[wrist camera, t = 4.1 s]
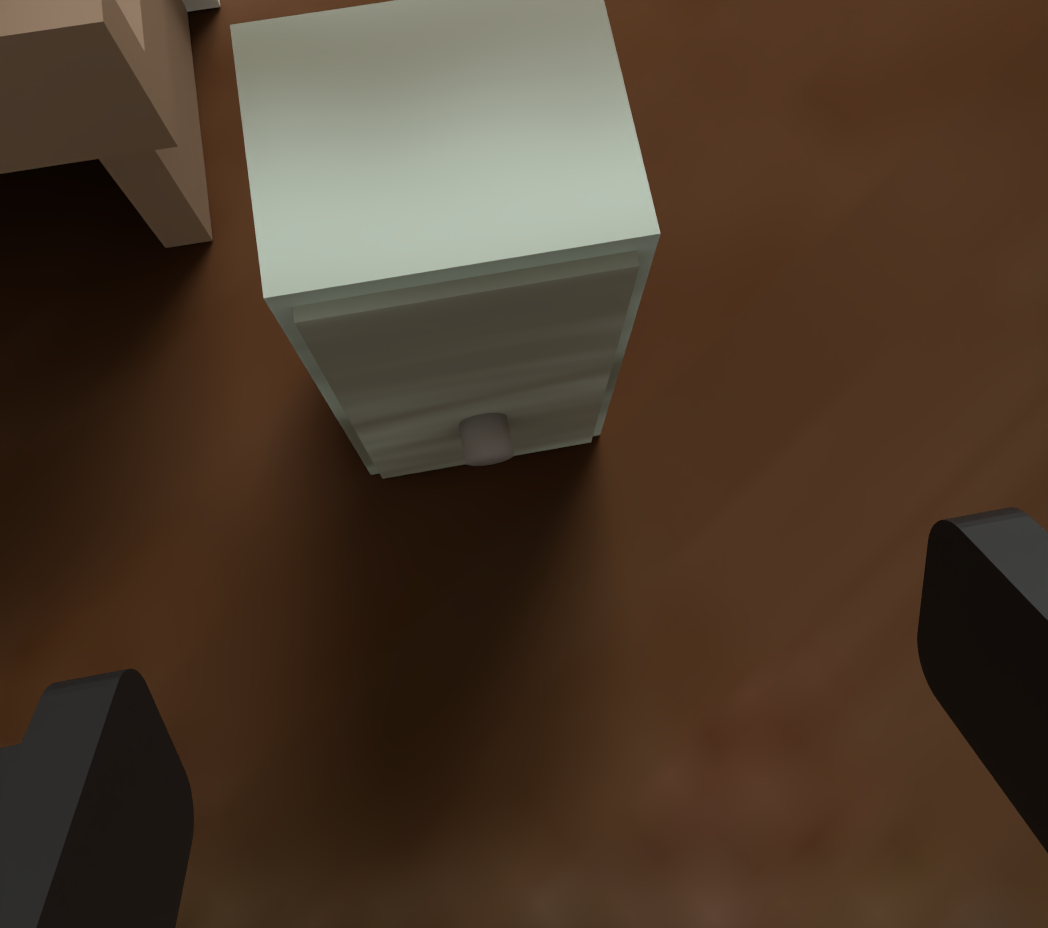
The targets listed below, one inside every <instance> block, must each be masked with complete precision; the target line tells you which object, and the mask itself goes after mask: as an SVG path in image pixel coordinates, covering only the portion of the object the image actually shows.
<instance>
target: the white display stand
mask: <svg viewBox="0 0 1048 928" xmlns="http://www.w3.org/2000/svg"><path fill="white" fill-rule="evenodd" d="M216 7H220V0H0V174H3V173H9V172H16V171H22V170H29V169H35V168H42V167H48V166H55V165H61V164H68V163H74V162H81V161H87V160H94V159H99V160H100V162H101V163H102V164H103V166H104V167H105V168H106V170H107V171H108V172H109V174H110V175H111V176H112V178H113V179H114V180H115V182H116V183H117V184H118V186H119V187H120V188H121V190H122V191H123V192H124V194H125V195H126V196H127V198H128V199H129V200H130V202H131V203H132V204H133V206H134V207H135V208H136V210H137V211H138V212H139V214H140V215H141V216H142V218H143V219H144V220H145V222H146V223H147V224H148V226H149V227H150V228H151V230H152V231H153V232H154V234H155V235H156V236H157V238H158V239H159V240H160V242H161V243H162V244H163V245H164V247H165V248H170V247H176V246H182V245H188V244H195V243H201V242H207V241H213V238H212V229H211V220H210V211H209V202H208V193H207V184H206V175H205V166H204V157H203V148H202V139H201V130H200V121H199V112H198V103H197V94H196V85H195V76H194V66H193V57H192V48H191V39H190V30H189V21H188V12H189V11H196V10H203V9H210V8H216Z"/></svg>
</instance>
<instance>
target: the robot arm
mask: <svg viewBox="0 0 1048 928" xmlns="http://www.w3.org/2000/svg"><path fill="white" fill-rule="evenodd" d="M917 644H918V653H919V658H920V663H921V666H922V670H923V672H924V675H925V678H926V680H927V683H928V685H929V687H930V689H931V691H932V692H933V694H934V696H935V697H936V699H937V700H938V701H939V703H940V704H941V706H942V707H943V708H944V710H945V711H946V713H947V714H948V715H949V717H950V718H951V719H952V721H953V722H954V724H955V725H956V726H957V728H958V729H959V731H960V732H961V733H962V735H963V736H964V738H965V739H966V740H967V742H968V743H969V744H970V746H971V747H972V749H973V750H974V751H975V753H976V754H977V756H978V757H979V758H980V760H981V761H982V763H983V764H984V765H985V767H986V768H987V769H988V771H989V772H990V774H991V775H992V776H993V778H994V779H995V781H996V782H997V783H998V785H999V786H1000V787H1001V789H1002V790H1003V792H1004V793H1005V794H1006V796H1007V797H1008V799H1009V800H1010V801H1011V803H1012V804H1013V806H1014V807H1015V808H1016V810H1017V811H1018V812H1019V814H1020V815H1021V817H1022V818H1023V819H1024V821H1025V822H1026V824H1027V825H1028V826H1029V828H1030V829H1031V830H1032V832H1033V833H1034V835H1035V836H1036V837H1037V839H1038V840H1039V842H1040V843H1041V844H1042V846H1043V847H1044V849H1045V850H1046V851H1047V853H1048V533H1047V532H1046V531H1045V530H1044V529H1043V528H1042V527H1041V526H1040V525H1039V524H1037V523H1036V522H1035V521H1034V520H1033V519H1032V518H1031V517H1030V516H1029V515H1027V514H1026V513H1025V512H1023V511H1021V510H1020V509H1017V508H1013V507H1012V508H1004V509H999V510H993V511H988V512H982V513H977V514H972V515H966V516H961V517H956V518H950V519H945V520H940V521H938V522H936V523H935V524H934V526H933V527H932V529H931V531H930V534H929V539H928V546H927V555H926V564H925V572H924V581H923V590H922V598H921V607H920V616H919V625H918V634H917ZM193 828H194V813H193V800H192V794H191V789H190V784H189V781H188V777H187V775H186V772H185V770H184V767H183V765H182V763H181V761H180V758H179V756H178V754H177V752H176V749H175V747H174V745H173V743H172V740H171V738H170V736H169V734H168V731H167V729H166V727H165V725H164V722H163V720H162V718H161V716H160V713H159V711H158V709H157V707H156V704H155V702H154V700H153V698H152V695H151V693H150V691H149V689H148V686H147V684H146V682H145V680H144V679H143V677H142V676H141V674H140V673H139V672H138V671H136V670H134V669H126V670H121V671H115V672H110V673H104V674H99V675H94V676H88V677H83V678H78V679H72V680H67V681H61V682H56V683H53V684H51V685H50V686H48V687H47V689H46V690H45V691H44V693H43V695H42V697H41V699H40V701H39V703H38V706H37V708H36V710H35V713H34V715H33V717H32V720H31V722H30V724H29V727H28V729H27V731H26V734H25V736H24V738H23V741H22V743H21V744H19V745H13V746H8V747H3V748H0V928H175V926H176V920H177V915H178V910H179V905H180V900H181V895H182V890H183V885H184V880H185V875H186V869H187V864H188V859H189V854H190V849H191V844H192V838H193Z"/></svg>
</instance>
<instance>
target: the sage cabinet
mask: <svg viewBox="0 0 1048 928" xmlns="http://www.w3.org/2000/svg"><path fill="white" fill-rule="evenodd" d="M230 29H231V37H232V45H233V53H234V61H235V69H236V77H237V86H238V94H239V102H240V110H241V118H242V126H243V134H244V142H245V150H246V159H247V167H248V175H249V183H250V191H251V199H252V207H253V215H254V224H255V232H256V240H257V248H258V256H259V264H260V272H261V280H262V289H263V297H264V300H265V301H266V303H267V305H268V306H269V308H270V309H271V311H272V313H273V314H274V316H275V318H276V319H277V321H278V323H279V324H280V326H281V328H282V329H283V331H284V333H285V334H286V336H287V337H288V339H289V341H290V342H291V344H292V346H293V347H294V349H295V351H296V352H297V354H298V356H299V357H300V359H301V361H302V362H303V364H304V366H305V367H306V369H307V370H308V372H309V374H310V375H311V377H312V379H313V380H314V382H315V384H316V385H317V387H318V389H319V390H320V392H321V394H322V395H323V397H324V399H325V400H326V402H327V403H328V405H329V407H330V408H331V410H332V412H333V413H334V415H335V417H336V418H337V420H338V422H339V423H340V425H341V427H342V428H343V430H344V431H345V433H346V435H347V436H348V438H349V440H350V441H351V443H352V445H353V446H354V448H355V450H356V451H357V453H358V455H359V456H360V458H361V460H362V461H363V463H364V464H365V466H366V468H367V469H368V471H369V473H370V474H371V475H374V474H379V473H380V475H381V477H382V479H384V478H390V477H396V476H401V475H407V474H413V473H419V472H424V471H430V470H436V469H442V468H447V467H453V466H459V465H464V464H467V465H470V466H485V465H492V464H496V463H500V462H503V461H506V460H508V459H510V458H512V457H513V456H516V455H522V454H528V453H533V452H539V451H545V450H550V449H556V448H562V447H568V446H573V445H579V444H585V443H591V441H592V437H593V436H598V435H600V433H601V430H602V427H603V423H604V420H605V417H606V413H607V410H608V407H609V403H610V400H611V397H612V393H613V390H614V387H615V383H616V380H617V377H618V373H619V370H620V367H621V363H622V360H623V357H624V353H625V350H626V347H627V343H628V340H629V337H630V333H631V330H632V327H633V323H634V320H635V317H636V313H637V310H638V307H639V303H640V300H641V297H642V293H643V290H644V287H645V283H646V280H647V277H648V273H649V270H650V267H651V263H652V260H653V257H654V253H655V250H656V246H657V243H658V240H659V236H660V230H659V226H658V222H657V218H656V213H655V209H654V205H653V201H652V197H651V193H650V189H649V184H648V180H647V176H646V172H645V168H644V164H643V160H642V156H641V151H640V147H639V143H638V139H637V135H636V131H635V127H634V123H633V118H632V114H631V110H630V106H629V102H628V98H627V94H626V89H625V85H624V81H623V77H622V73H621V69H620V65H619V61H618V56H617V52H616V48H615V44H614V40H613V36H612V32H611V27H610V23H609V19H608V15H607V11H606V7H605V3H604V0H396V1H389V2H383V3H376V4H369V5H362V6H355V7H349V8H342V9H335V10H328V11H322V12H315V13H308V14H301V15H294V16H288V17H281V18H274V19H267V20H260V21H254V22H247V23H240V24H233V25H230Z"/></svg>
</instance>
